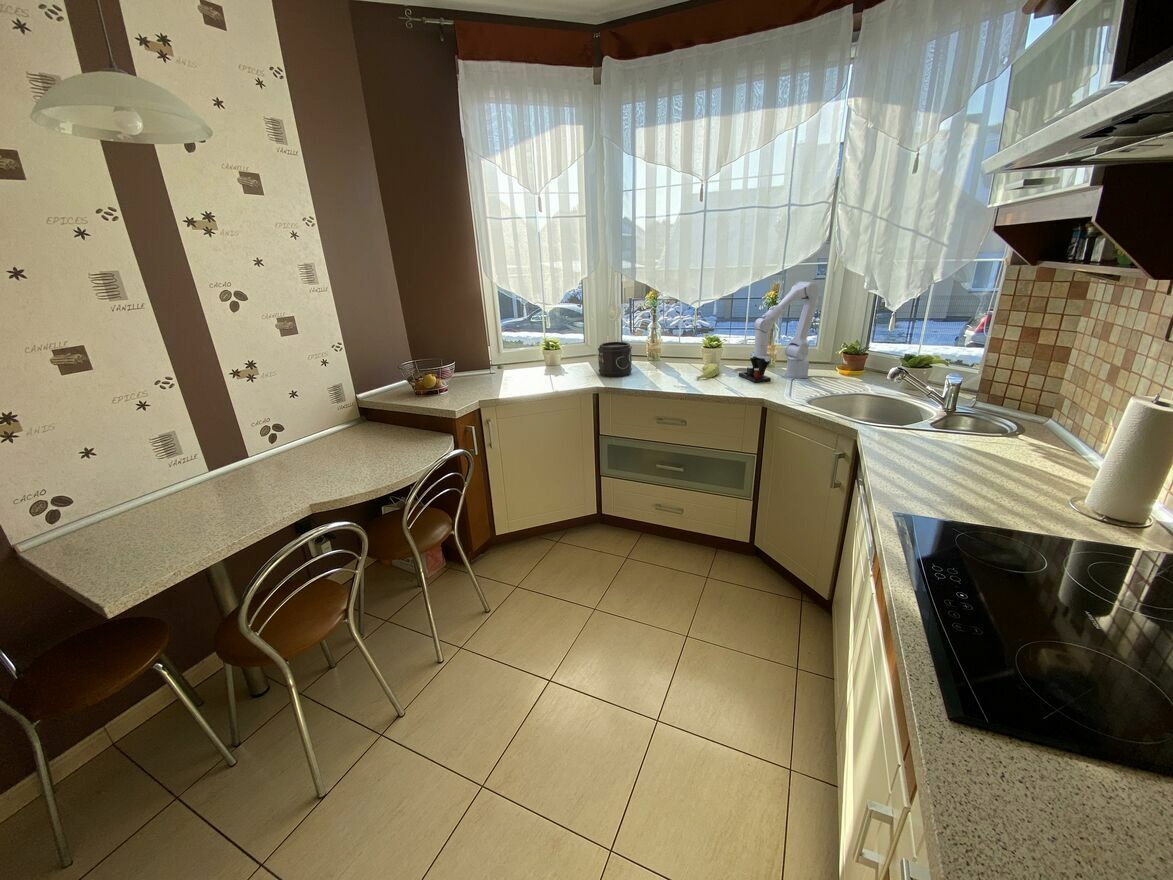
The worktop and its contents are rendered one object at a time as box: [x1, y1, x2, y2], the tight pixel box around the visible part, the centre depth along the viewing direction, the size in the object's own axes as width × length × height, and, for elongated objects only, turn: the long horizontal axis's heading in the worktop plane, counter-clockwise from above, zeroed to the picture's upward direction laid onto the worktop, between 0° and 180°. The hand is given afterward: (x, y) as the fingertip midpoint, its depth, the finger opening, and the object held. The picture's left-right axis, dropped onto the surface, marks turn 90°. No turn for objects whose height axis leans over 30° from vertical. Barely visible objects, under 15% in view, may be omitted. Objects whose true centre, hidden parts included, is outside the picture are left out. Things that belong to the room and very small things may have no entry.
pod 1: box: [746, 365, 754, 375], centre depth 231 cm, size 4×4×5 cm
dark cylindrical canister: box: [597, 341, 633, 378], centre depth 252 cm, size 18×18×16 cm
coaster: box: [734, 367, 747, 373], centre depth 247 cm, size 8×8×1 cm
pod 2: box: [754, 368, 763, 379], centre depth 225 cm, size 4×4×5 cm
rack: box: [738, 371, 772, 384], centre depth 229 cm, size 15×8×2 cm, turn 12°
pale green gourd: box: [696, 362, 720, 381], centre depth 241 cm, size 14×6×20 cm
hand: (758, 373), depth 225 cm, fingers closed on pod 2, 4 cm apart
